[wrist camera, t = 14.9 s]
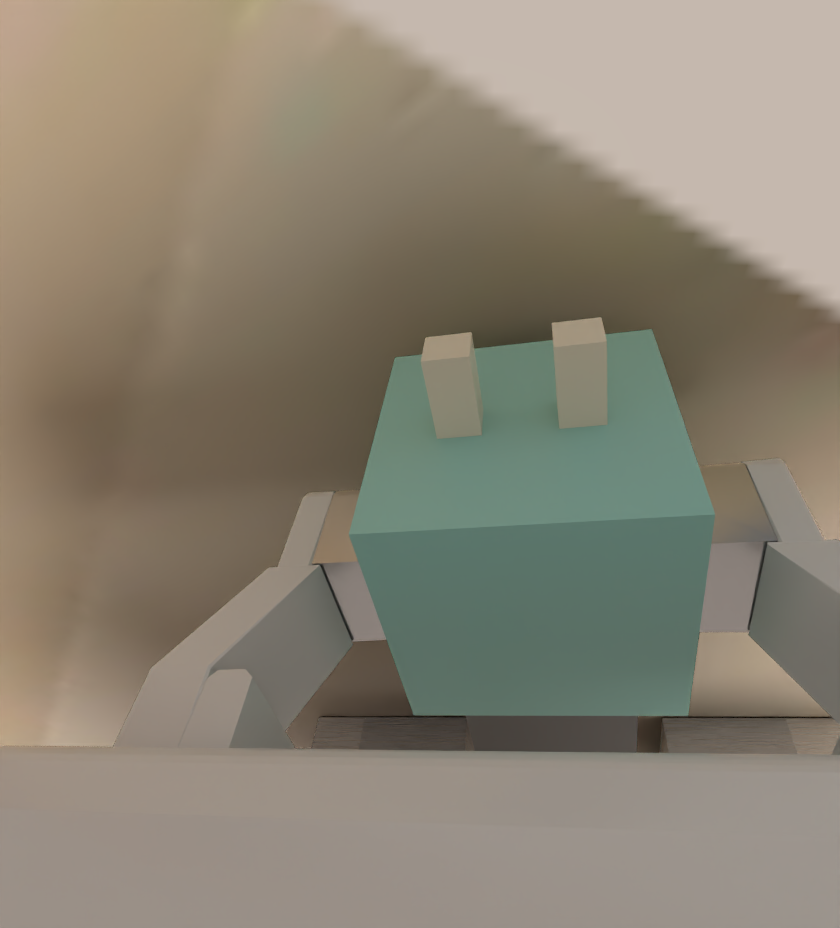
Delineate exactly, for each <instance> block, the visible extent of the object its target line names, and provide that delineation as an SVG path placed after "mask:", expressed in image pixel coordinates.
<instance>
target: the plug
mask: <svg viewBox="0 0 840 928" xmlns="http://www.w3.org/2000/svg"><path fill="white" fill-rule="evenodd" d="M552 337H553V340H548V341H539V342H530V343H521V344H512V345H503V346H494V347H485V348H476V349H474V344H473V338H472V332H468V333H459V334H450V335H442V336H433V337H425V342H424V347H423V352H422V354H421V355H412V356H403V357H395V359H394V363H393V367H392V371H391V375H390V378H389V382H388V386H387V390H386V394H385V397H384V401H383V405H382V409H381V413H380V417H379V420H378V424H377V428H376V432H375V436H374V439H373V443H372V447H371V451H370V455H369V458H368V462H367V466H366V470H365V474H364V478H363V481H362V485H361V489H360V493H359V497H358V500H357V504H356V508H355V512H354V516H353V519H352V523H351V527H350V531H349V537H350V540H351V543H352V546H353V548H354V551H355V554H356V557H357V559H358V562H359V565H360V568H361V571H362V573H363V576H364V579H365V582H366V584H367V587H368V590H369V593H370V596H371V598H372V601H373V604H374V607H375V609H376V612H377V615H378V618H379V620H380V623H381V626H382V629H383V632H384V634H385V637H386V640H387V643H388V645H389V648H390V651H391V654H392V657H393V659H394V662H395V665H396V668H397V670H398V673H399V676H400V679H401V682H402V684H403V687H404V690H405V693H406V695H407V698H408V701H409V704H410V706H411V709H412V712H413V715H465V716H466V719H467V723H468V727H469V731H470V734H471V738H472V742H473V746H474V749H475V751H528V752H621V753H636V752H637V729H638V716H688V714H689V706H690V699H691V691H692V684H693V676H694V669H695V662H696V654H697V647H698V639H699V632H700V624H701V617H702V610H703V602H704V595H705V587H706V580H707V572H708V565H709V558H710V550H711V543H712V535H713V528H714V520H715V512H714V509H713V506H712V503H711V500H710V497H709V494H708V491H707V489H706V486H705V483H704V480H703V477H702V474H701V471H700V468H699V465H698V462H697V459H696V456H695V453H694V451H693V448H692V445H691V442H690V439H689V436H688V433H687V430H686V427H685V424H684V421H683V418H682V415H681V412H680V410H679V407H678V404H677V401H676V398H675V395H674V392H673V389H672V386H671V383H670V380H669V377H668V374H667V371H666V369H665V366H664V363H663V360H662V357H661V354H660V351H659V348H658V345H657V342H656V339H655V336H654V333H653V331H652V329H648V330H639V331H630V332H621V333H612V334H605V331H604V326H603V322H602V317H598V318H589V319H581V320H572V321H563V322H555V323H552Z"/></svg>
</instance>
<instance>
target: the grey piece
mask: <svg viewBox="0 0 840 928" xmlns="http://www.w3.org/2000/svg"><path fill="white" fill-rule="evenodd" d="M839 735H840V725H839V724H838V723H837V722H836V721H835V720H834V719H833V718H662V730H661V741H660V753H714V754H805V755H832V752H833V750H834V747H835V745H836V743H837V740H838V738H839ZM311 749H356V750H440V751H475V749H474V746H473V742H472V738H471V734H470V731H469V727H468V723H467V719H466V718H458V717H319V719H318V723H317V727H316V731H315V735H314V740H313V744H312V748H311Z"/></svg>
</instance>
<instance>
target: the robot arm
mask: <svg viewBox="0 0 840 928" xmlns="http://www.w3.org/2000/svg"><path fill="white" fill-rule="evenodd" d="M699 468H700V471H701V474H702V477H703V480H704V483H705V486H706V489H707V491H708V494H709V497H710V500H711V503H712V506H713V509H714V512H715V520H714V528H713V535H712V543H711V550H710V558H709V565H708V572H707V580H706V587H705V595H704V602H703V610H702V617H701V624H700V632H749V636H750V637H751V638H752V639H753V640H754V641H755V642H756V643H757V644H758V645H759V646H760V647H761V648H762V649H763V650H764V651H765V652H766V653H767V654H768V655H769V656H770V657H771V658H772V659H773V660H774V661H775V662H776V663H778V664H779V665H780V666H781V667H782V668H783V669H784V670H785V671H786V672H787V673H788V674H789V675H790V676H791V677H792V678H793V679H794V680H795V681H796V682H797V683H798V684H799V685H800V686H801V687H802V688H803V689H804V690H805V691H806V692H807V693H808V694H809V695H810V696H811V697H812V698H813V699H814V700H815V701H816V702H817V703H818V704H819V705H820V706H821V707H822V708H823V709H824V710H825V711H826V712H827V713H828V714H829V715H830V716H831V717H832V718H833V719H834V720H835V721H836V722H837V723H838V724H839V725H840V541H839V540H837V539H835V540H825V539H824V537H823V535H822V533H821V531H820V529H819V527H818V525H817V523H816V521H815V519H814V517H813V515H812V513H811V512H810V510H809V508H808V506H807V504H806V502H805V500H804V498H803V496H802V494H801V492H800V490H799V488H798V486H797V484H796V482H795V481H794V479H793V477H792V475H791V473H790V471H789V469H788V467H787V465H786V463H785V462H784V461H783V460H781V459H780V458H775V459H764V460H753V461H742V462H741V463H725V464H712V465H700V466H699ZM359 493H360V490H340V491H337V492H336V491H331V492H310V493H307V494H306V495H305V496H304V497H303V498H302V500H301V503H300V506H299V509H298V511H297V514H296V517H295V520H294V522H293V525H292V528H291V531H290V533H289V536H288V539H287V542H286V544H285V547H284V550H283V553H282V555H281V558H280V561H279V563H278V566H277V567H269V568H267V569H266V570H265V571H264V572H263V573H262V574H260V575H259V576H258V577H257V578H256V579H255V580H253V581H252V582H251V583H250V584H249V585H247V586H246V587H245V588H244V589H243V590H242V591H240V592H239V593H238V594H237V595H236V596H235V597H233V598H232V599H231V600H230V601H229V602H228V603H226V604H225V605H224V606H223V607H222V608H221V609H219V610H218V611H217V612H216V613H215V614H214V615H212V616H211V617H210V618H209V619H208V620H206V621H205V622H204V623H203V624H202V625H201V626H199V627H198V628H197V629H196V630H195V631H194V632H192V633H191V634H190V635H189V636H188V637H187V638H185V639H184V640H183V641H182V642H181V643H180V644H178V645H177V646H176V647H175V648H174V649H173V650H171V651H170V652H169V653H168V654H167V655H166V656H164V657H163V658H162V659H161V660H160V661H158V662H157V663H156V664H155V665H154V666H153V667H151V669H150V671H149V673H148V675H147V677H146V679H145V681H144V683H143V685H142V687H141V689H140V691H139V694H138V696H137V698H136V700H135V702H134V704H133V706H132V708H131V710H130V712H129V714H128V716H127V718H126V720H125V722H124V724H123V727H122V729H121V731H120V733H119V735H118V737H117V739H116V741H115V743H114V745H113V747H89V746H0V928H840V735H839V738H838V740H837V743H836V745H835V747H834V750H833V752H832V755H805V754H714V753H621V752H528V751H440V750H356V749H296V748H295V747H294V745H293V744H292V742H291V740H290V739H289V737H288V735H287V734H286V732H285V731H286V729H287V728H288V727H289V725H290V724H291V723H292V722H293V720H294V719H295V718H296V717H297V715H298V714H299V713H300V711H301V710H302V709H303V708H304V706H305V705H306V704H307V703H308V701H309V700H310V699H311V698H312V696H313V695H314V694H315V692H316V691H317V690H318V689H319V687H320V686H321V685H322V684H323V682H324V681H325V680H326V678H327V677H328V676H329V675H330V673H331V672H332V671H333V670H334V668H335V667H336V666H337V664H338V663H339V662H340V661H341V659H342V658H343V657H344V656H345V654H346V653H347V652H348V651H349V649H350V648H351V647H352V645H353V643H352V642H354V641H373V640H386V637H385V634H384V632H383V629H382V626H381V623H380V620H379V618H378V615H377V612H376V609H375V607H374V604H373V601H372V598H371V596H370V593H369V590H368V587H367V584H366V582H365V579H364V576H363V573H362V571H361V568H360V565H359V562H358V559H357V557H356V554H355V551H354V548H353V546H352V543H351V540H350V537H349V531H350V527H351V523H352V519H353V516H354V512H355V508H356V504H357V500H358V497H359Z"/></svg>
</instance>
